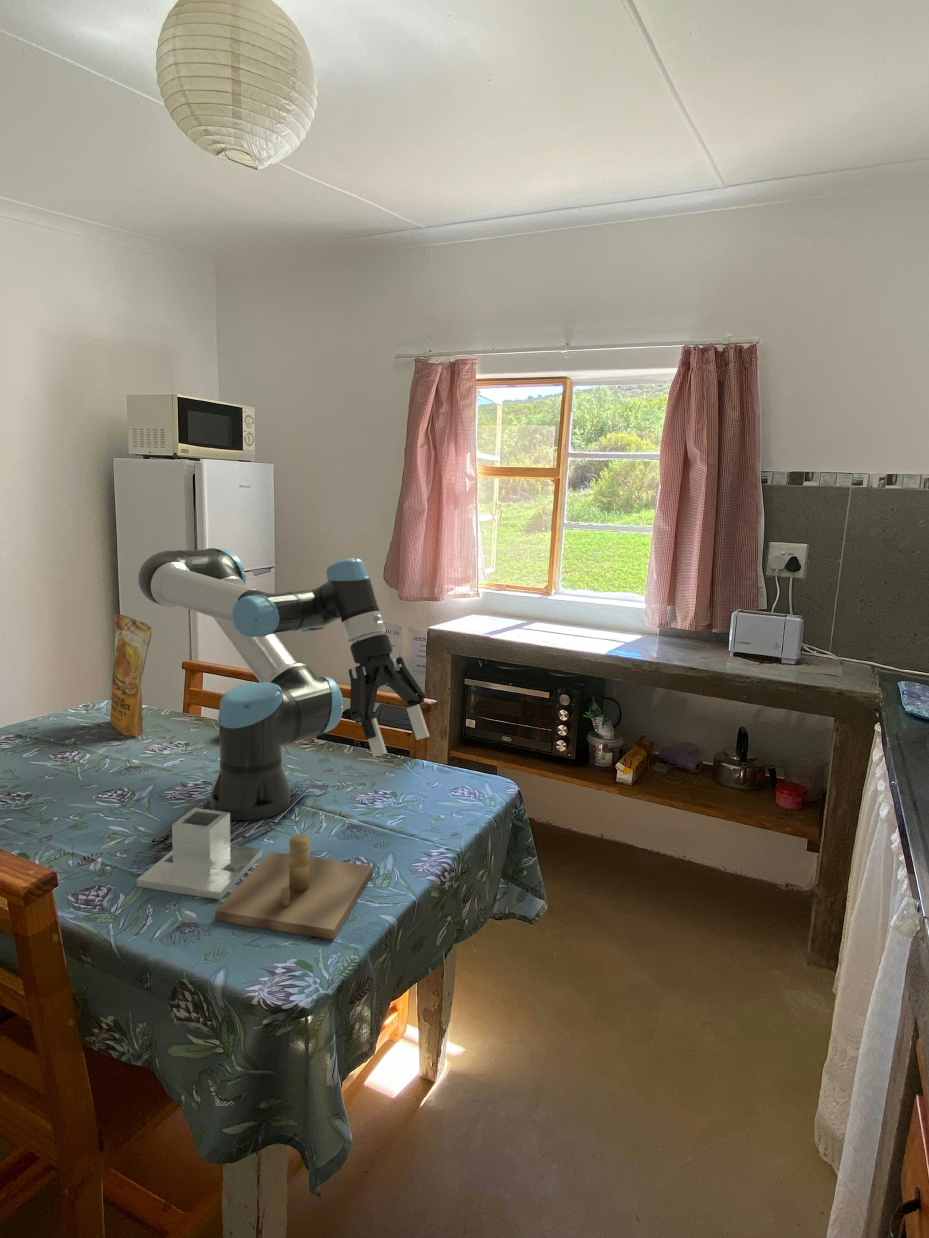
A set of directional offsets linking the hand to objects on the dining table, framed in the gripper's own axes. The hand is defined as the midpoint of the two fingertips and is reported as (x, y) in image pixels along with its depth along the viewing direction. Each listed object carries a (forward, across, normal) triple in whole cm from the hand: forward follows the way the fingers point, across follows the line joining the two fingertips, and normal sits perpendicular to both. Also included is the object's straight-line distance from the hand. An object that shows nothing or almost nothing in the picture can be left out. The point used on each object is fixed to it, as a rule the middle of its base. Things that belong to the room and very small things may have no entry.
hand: (402, 746), depth 135 cm
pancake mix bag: (-24, +3, +84) cm, 87 cm away
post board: (+16, -28, +6) cm, 33 cm away
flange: (+8, -32, +22) cm, 39 cm away
